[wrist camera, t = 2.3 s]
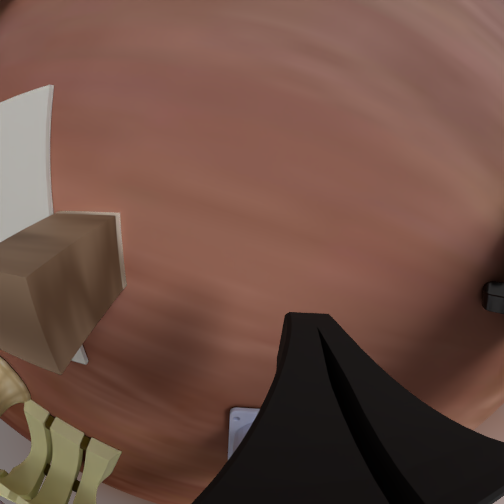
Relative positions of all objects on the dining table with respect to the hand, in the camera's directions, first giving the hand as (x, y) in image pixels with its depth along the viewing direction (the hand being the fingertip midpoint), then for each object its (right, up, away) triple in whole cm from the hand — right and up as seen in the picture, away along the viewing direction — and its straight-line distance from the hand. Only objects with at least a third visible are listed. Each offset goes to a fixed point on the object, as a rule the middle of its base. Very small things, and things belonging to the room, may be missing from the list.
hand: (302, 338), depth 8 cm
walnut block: (-10, +3, +5) cm, 12 cm away
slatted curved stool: (-26, -23, +16) cm, 38 cm away
